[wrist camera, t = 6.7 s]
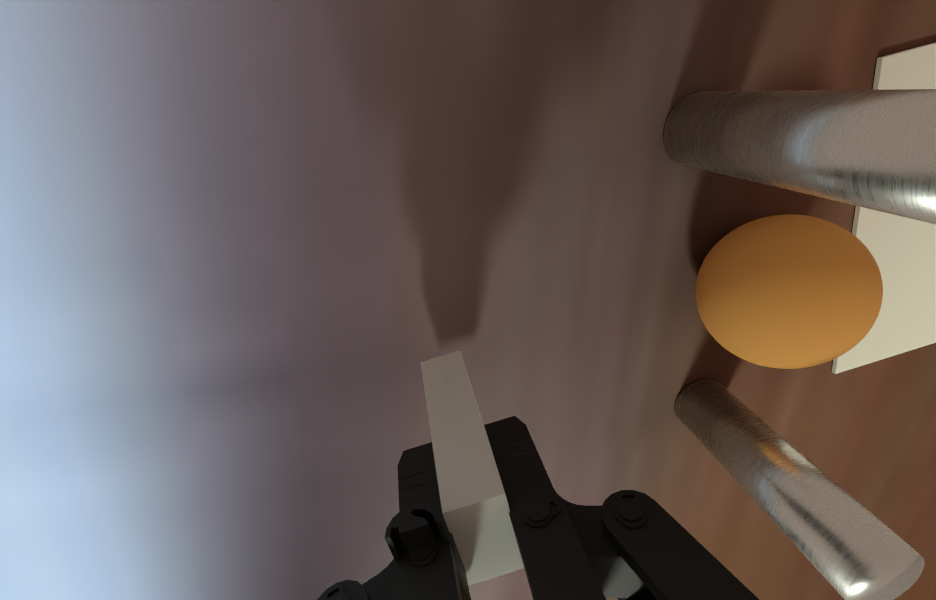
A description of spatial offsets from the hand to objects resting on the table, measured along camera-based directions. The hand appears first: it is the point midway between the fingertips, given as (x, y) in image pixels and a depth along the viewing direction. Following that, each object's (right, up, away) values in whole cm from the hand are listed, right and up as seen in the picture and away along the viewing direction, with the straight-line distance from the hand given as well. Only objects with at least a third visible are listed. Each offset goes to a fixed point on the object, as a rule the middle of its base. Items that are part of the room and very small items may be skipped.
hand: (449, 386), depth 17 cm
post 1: (+9, +9, 0) cm, 13 cm away
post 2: (+12, -2, +5) cm, 13 cm away
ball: (+12, +3, 0) cm, 12 cm away
